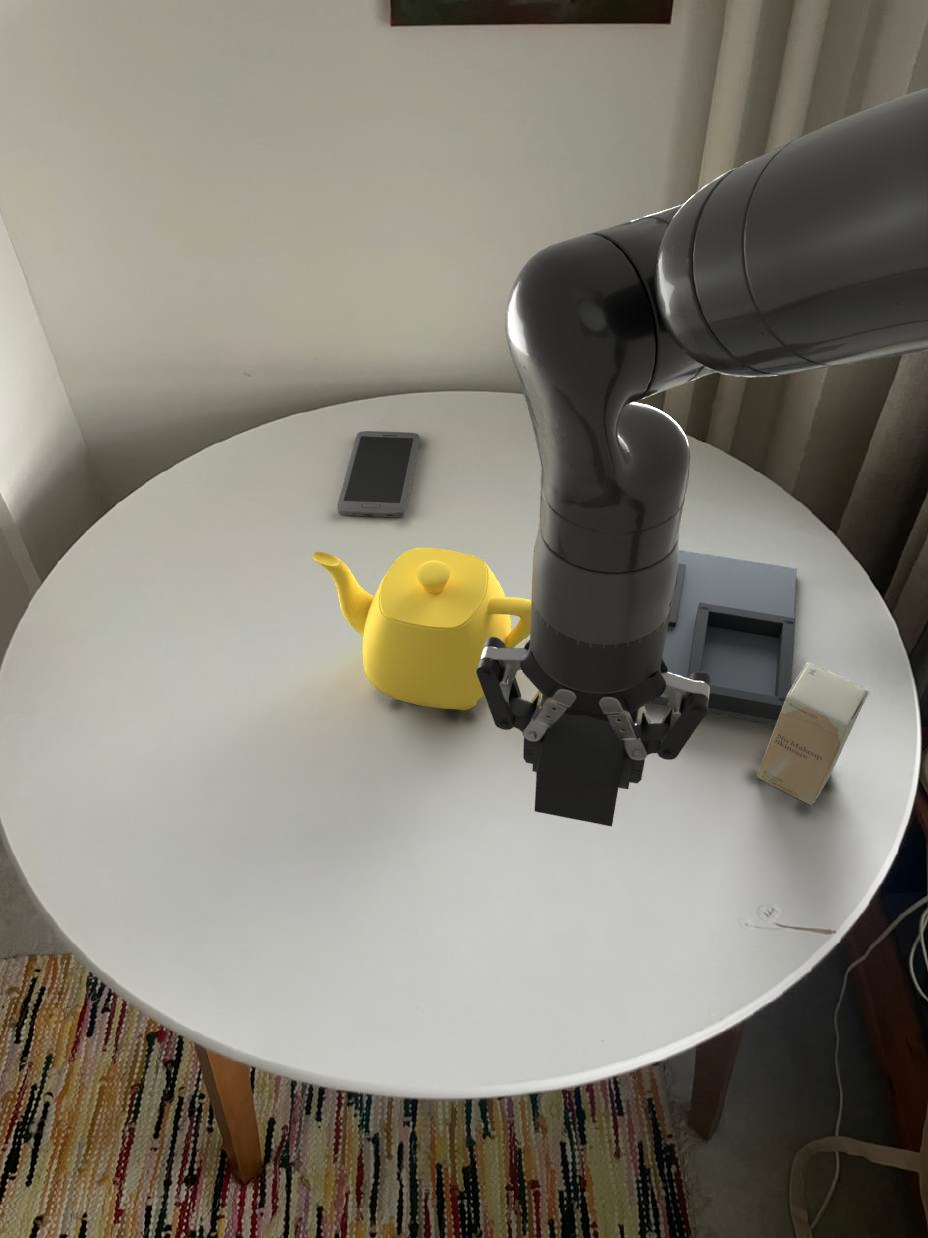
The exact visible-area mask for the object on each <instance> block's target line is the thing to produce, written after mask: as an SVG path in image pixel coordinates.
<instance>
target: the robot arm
mask: <svg viewBox="0 0 928 1238" xmlns="http://www.w3.org/2000/svg"><path fill="white" fill-rule="evenodd" d="M504 330H505V337H506V341H507V347H508V350H509V354H510V357H511V360H512V363H513V364H512V365H513V366H514V369H515V372H516V375H517V378H518V381H519V383H520V386H521V390H522V393H523V396H524V400H525V403H526V405H527V410H528V413H529V417H530V418H529V419H530V423H531V426H532V429H533V433H534V438H535V443H536V446H537V450H538V457H539V462H540V467H541V471H540V472H541V473H540V493H539V494H540V496H539V497H540V498H539V521H538V528H537V534H536V538H535V543H534V548H533V553H532V554H533V555H532V571H531V572H532V573H531V575H532V577H531V599H530V600H531V628H530V635H529V640H528V641H527V642H526V643H525V645H524V647H513V648H506V647H505V644H504V642H503V641H502V640H501V639H499V638H496V637H489V638H487V639H486V641H485V644H484V648H483V651H482V654H481V657H480V661H479V664H478V667H477V671H476V673H477V676H478V679H479V681H480V684H481V687H482V690H483V692H484V698H485V700H486V703H487V707H488V709H489V712H490V714H491V717H492V719H493V722H494V725H495V727H497V728H498V729H500V730H503V731H510V730H512V729H513V728H515V729H516V730H519V731H520V732H521V733H522V736H523V749H522V750H523V754H522V757H523V760H524V762H525V763H526V764H529V765H530V764H531V765H532V769H531V770H532V772H533V773H536V772H537V768H538V763H539V759H540V755H541V750H542V746H543V742H544V738H545V733H546V732H547V730H548V729H549V728H551V729H552V728H553V727H554V725H555V724H556V723H557V722H558V720H559V719H560V718H561V716H562V715H563V714H569V715H582V716H590V717H593V718H596V719H599V720H603V721H609V723H610V725H611V727H612V730H613V732H614V734H615V736H616V739H617V740H621V741H622V743H623V746H624V748H625V750H624V756H623V762H622V768H621V774H620V781H619V787H618V789H624V790H629V788H630V783H632V784H638V783H640V782H641V781H642V778H643V772H644V767H645V763H646V762H645V761H646V758H647V757H648V756H650V755H652V754H657V755H658V757H659V758H661V759H663V760H668V761H672V760H676V759H677V757H678V756H679V754H680V753H681V752H682V750H683V749H684V747H685V746H686V744H687V743H688V741H689V740H690V738H691V737H692V736H693V734H694V733H695V732H696V730H697V728H698V727H699V726H700V724H701V723H702V721H703V720H704V718H705V717H706V716H707V714H708V712H707V711H708V702H709V694H710V683H711V677H710V676H709V675H708V674H707V673H705V672H700V671H698V672H694V673H692V674H691V675H690V677H689V678H685V677H682V676H679V675H676V674H673V673H670V672H668V667H667V665H666V663H665V662H664V660H663V657H662V656H663V651H664V645H665V639H666V634H667V628H668V623H669V617H670V612H671V606H672V601H673V595H674V590H675V588H676V586H677V572H678V554H679V552H678V550H679V540H680V531H681V526H682V521H683V520H682V519H683V514H684V507H685V502H686V498H687V493H688V487H689V481H690V480H689V479H690V471H691V469H690V468H691V451H690V446H689V440H688V438H687V436H686V434H685V432H684V430H683V429H682V427H681V426H680V425H679V424H678V422H677V421H676V420H674V418H672V417H671V416H670V415H669V414H667V413H666V412H664V411H662V410H660V409H658V408H656V407H653V406H651V405H649V404H643V403H639V402H638V401H641V400H643V399H647V398H649V397H652V396H654V395H657V394H660V393H662V392H665V391H668V390H670V389H673V388H676V387H678V386H681V385H684V384H687V383H690V382H692V381H695V380H697V379H700V378H703V377H706V376H709V375H712V374H716V373H719V374H721V375H726V376H734V377H741V378H762V377H763V378H765V377H776V376H777V377H778V376H782V375H789V374H794V373H801V372H808V371H814V370H820V369H821V370H822V369H827V368H832V367H838V366H846V365H852V364H857V363H858V364H859V363H864V362H868V361H869V362H870V361H874V360H875V361H876V360H881V359H887V358H892V357H898V356H904V355H909V354H914V353H922V352H927V351H928V87H925V88H922V89H919V90H918V89H917V90H916V91H912V92H909V93H907V94H904V95H900V96H897V97H894V98H892V99H889V100H886V101H883V102H881V103H878V104H876V105H872V106H870V107H867V108H864V109H862V110H859V111H857V112H854V113H852V114H850V115H847V116H845V117H842V118H840V119H838V120H835V121H833V122H831V123H829V124H826V125H824V126H822V127H819V128H817V129H815V130H813V131H811V132H809V133H807V134H806V133H805V134H804V135H802V136H800V137H798V138H795V139H794V140H791V141H789V142H788V143H785V144H783V145H781V146H779V147H776V148H774V149H772V150H770V151H768V152H766V153H764V154H762V155H759V156H757V157H755V158H753V159H751V160H749V161H747V162H745V163H743V164H741V165H738V166H736V167H735V168H733V169H730V170H728V171H726V172H724V173H723V174H721V175H720V176H719V177H716V178H715V179H713V180H712V181H710V182H709V183H707V184H706V185H704V186H703V187H702V188H701V189H699V190H698V191H696V193H695V194H693V195H692V196H691V197H690V198H688V200H686V202H685V203H683V204H679V205H677V206H674V207H671V208H668V209H665V210H662V211H659V212H656V213H652V214H648V215H646V216H642V217H639V218H637V219H633V220H630V221H627V222H622V223H620V224H617V225H613V226H610V227H606V228H603V229H599V230H596V231H593V232H589V233H587V234H583V235H579V236H576V237H572V238H570V239H566V240H563V241H559V242H557V243H553V244H552V245H548V246H547V247H545V248H543V249H541V250H539V251H537V253H535V254H534V255H533V256H532V257H531V258H529V259H528V260H527V262H526V263H525V264H524V266H522V268H521V269H520V271H519V273H518V274H517V277H516V278H515V280H514V282H513V285H512V287H511V290H510V292H509V295H508V299H507V303H506V307H505V314H504ZM519 671H521V672H522V674H524V676H525V677H526V678H527V679H528V680H529V681H530V682H531V683H532V685H534V687H535V688H536V689H537V690H538V691H537V692H536V693H535V696H534V697H533V698H532V699H531V701H529V700H526V699H523V698H522V693H521V690H520V687H519V684H518V681H517V678H516V677H517V673H518V672H519ZM662 694H665V695H666V696H667V697H668V698H669V701H668V705H667V706H668V707H669V708H668V710H667V711H666V713H665V715H663V718H662V719H661V722H651V719H650V716H649V714H648V712H647V710H646V705H648V704H649V703H652V702H651V701H653V700H655V699H656V698H658V697H659V696H661V695H662Z"/></svg>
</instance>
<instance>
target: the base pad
mask: <svg viewBox="0 0 928 1238" xmlns="http://www.w3.org/2000/svg"><path fill="white" fill-rule="evenodd" d="M678 552H679V554H678V572H677V586H676V588H675V590H674V595H673V601H672V606H671V612H670V617H669V623H668V628H667V634H666V639H665V645H664V651H663V656H662V657H663V660H664V662H665V663H666V665H667V667H668V672H670V673H673V674H676V675H679V676H682V677H685V678H689V677H690V675H691V674H692V673H694V672H698V671H700V672H705V673H707V674H708V675H709V676H710V677H711V683H710V694H709V702H708V711H707V714H708V713H709V714H714V715H719V716H723V717H728V718H729V717H730V718H736V719H741V720H746V721H753V722H758V723H762V724H767V725H772V726H776V723H777V720H778V718H779V715H780V713H781V710H782V707H783V705H784V702H785V699H786V697H787V694H788V693H789V691H790V689H791V687H792V676H793V659H794V658H793V657H794V646H795V645H794V644H795V641H794V640H795V629H796V618H795V607H796V606H795V603H796V589H797V572H798V571H797V570H798V569H797V567H790V566H783V565H777V564H771V563H766V562H765V563H764V562H758V561H751V560H745V559H738V558H732V557H725V556H719V555H713V554H706V553H699V552H693V551H686V550H682V549H681V550H680V549H678ZM668 701H669V698H668V697H667V696H666V695H665V694H662V695H661V696H659V697H658V698H656V699H655V700H653V701H651V702H650V703H653V704H654V703H655V704H660V705H664V706H668Z"/></svg>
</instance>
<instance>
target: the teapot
mask: <svg viewBox="0 0 928 1238" xmlns="http://www.w3.org/2000/svg"><path fill="white" fill-rule="evenodd" d="M311 556H312V559H313V560H314V561H315V562H316V563H317V564H319V565H320V566H321V567H322V568H324V569H325V570H326V572H328V574H329V575H330V576H331V578H332V579H333V582H334V584H335V587H336V591H337V596H338V601H339V606H340V610H341V612H342V615H343V617H344V619H345V620H346V622H347V624H348V625H349V626H350V627H351V629H353V630H354V631H355V632H357V634H359V635H360V636H362V664H363V671H364V673H365V676H366V678H367V679H368V681H369V682H370V684H371V685H372V686H373V687H374V688H375V689H376V690H377V691H379V692H381V693H382V694H385V695H386V696H388V697H390V698H393V699H395V700H398V701H401V702H405V703H408V704H412V705H417V706H422V707H427V708H434V709H436V708H437V709H443V710H459V711H468V710H470V709H472V708H475V706H476V705H477V703H478V701H479V700H480V699H482V698H484V697H485V695H484V692H483V690H482V687H481V684H480V681H479V679H478V676H477V673H476V671H477V667H478V664H479V661H480V657H481V654H482V651H483V648H484V644H485V641H486V639H487V638H489V637H496V638H499V639H501V640H502V641H503V642H504V644H505V647H506V648H516V646H518V645H519V644H520V643H522V642H523V641H524V640H525V639H527V638H528V637H530V628H531V599H528V598H523V597H522V598H521V597H507V596H506V594H505V592H504V590H503V587H502V585H501V583H500V581H499V580H498V578H497V577H496V575H495V574H494V572H493V571H492V570H491V568H490V566H488V564H487V563H486V562H485V561H484V560H483V559H482V558H480V557H478V556H477V555H473V554H471V553H466V552H462V551H458V550H457V551H456V550H450V549H445V548H436V547H425V546H424V547H413V548H410V549H408V550H406V551H404V552H403V553H402V554H400V556H398V557H397V558H396V559H395V561H394V562H393V563H392V564H391V566H390V567H389V568H388V571H387V572H386V573H385V575H384V577H383V578H382V579H381V582H380V584H379V585H378V588H377V590H376V592H375V594H374V595H372V594H371V593H369V592H368V591H366V590H365V589H364V588H363V587H361V585H360V584H359V583H358V581H357V579H356V577H355V576H354V574H353V572H352V571H351V569H350V568H349V567H348V565H347V564H346V563H345V562H344V561H342V560H341V559H339V557H336V556H334V555H332V554H330V553H327V552H322V551H315V552H313V553H312V554H311ZM511 616H514V617H519V620H518V621H517V624H516V625H515V626H514V628H513V629H512V619H511Z"/></svg>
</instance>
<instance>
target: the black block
mask: <svg viewBox="0 0 928 1238" xmlns="http://www.w3.org/2000/svg"><path fill="white" fill-rule="evenodd" d="M624 750H625V748H624V746H623V743H622V741H621V740H617V739H616V736H615V734H614V732H613V730H612V727H611V725H610V723H609V721H603V720H599V719H596V718H593V717H590V716H582V715H569V714H563V715H562V716H561V718H560V719H559V720H558V722H557V723H556V724H555V725H554V727H553V728H552V729H551V728H549V729H548V730H547V732H546V733H545V738H544V742H543V746H542V750H541V755H540V759H539V763H538V768H537V772H535V773H536V774H535V795H534V812H536V813H541V814H545V815H551V816H556V817H561V818H565V819H571V820H575V821H582V822H587V823H591V824H595V825H596V824H597V825H602V826H606V827H613V822H614V818H615V817H614V816H615V811H616V804H617V798H618V794H619V788H618V787H619V781H620V774H621V768H622V762H623V756H624Z"/></svg>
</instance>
